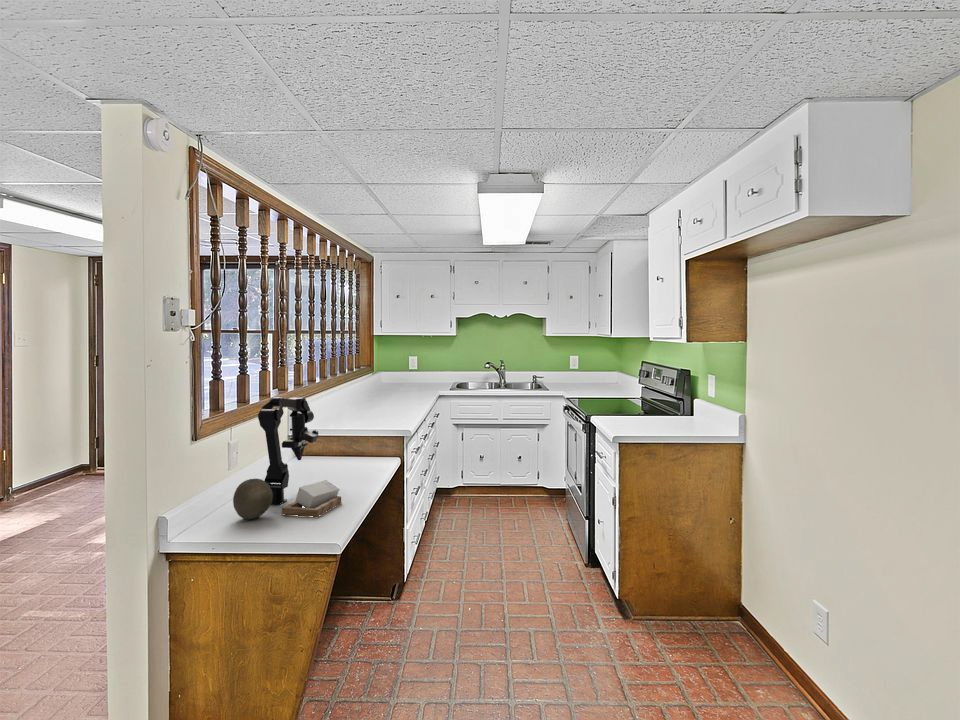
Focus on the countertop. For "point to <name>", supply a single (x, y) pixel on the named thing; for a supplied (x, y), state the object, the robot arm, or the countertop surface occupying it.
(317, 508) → the wooden tray
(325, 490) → the skincare box
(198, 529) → the countertop surface
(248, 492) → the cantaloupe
